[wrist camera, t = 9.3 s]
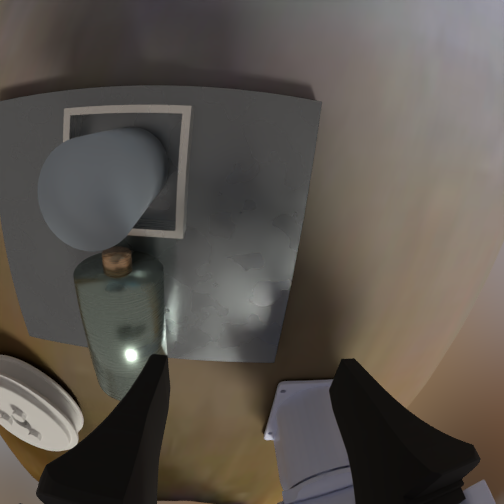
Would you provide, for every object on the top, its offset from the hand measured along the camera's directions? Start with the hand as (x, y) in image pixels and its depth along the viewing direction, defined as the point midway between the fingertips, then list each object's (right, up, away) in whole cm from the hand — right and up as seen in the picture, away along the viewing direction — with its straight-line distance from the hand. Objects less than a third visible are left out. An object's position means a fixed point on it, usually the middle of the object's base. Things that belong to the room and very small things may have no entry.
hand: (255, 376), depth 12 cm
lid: (-23, -10, +13) cm, 29 cm away
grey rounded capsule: (-7, +10, +4) cm, 12 cm away
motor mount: (-7, +6, +6) cm, 11 cm away
